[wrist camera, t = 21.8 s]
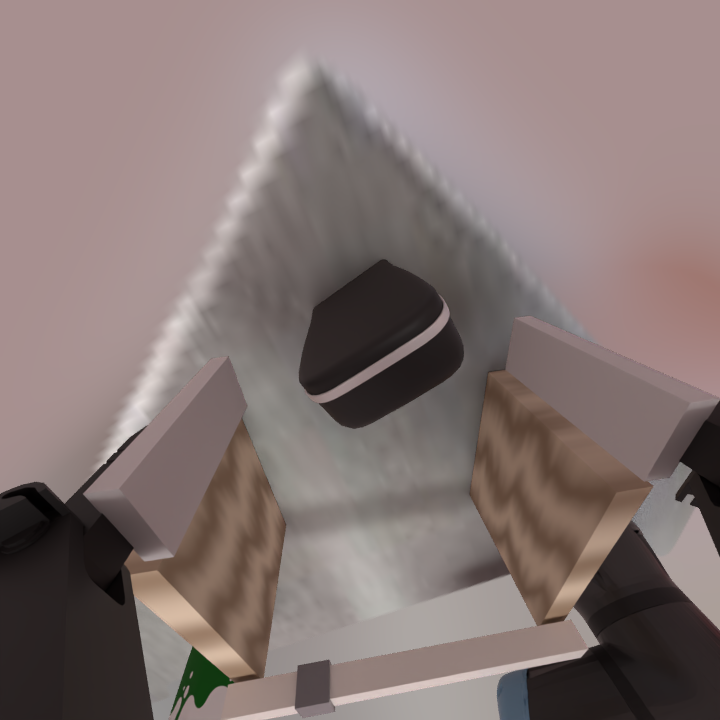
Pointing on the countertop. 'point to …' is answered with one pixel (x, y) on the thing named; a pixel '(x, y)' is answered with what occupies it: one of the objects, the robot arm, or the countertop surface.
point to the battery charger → (378, 346)
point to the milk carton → (200, 690)
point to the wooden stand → (488, 491)
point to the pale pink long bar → (400, 672)
